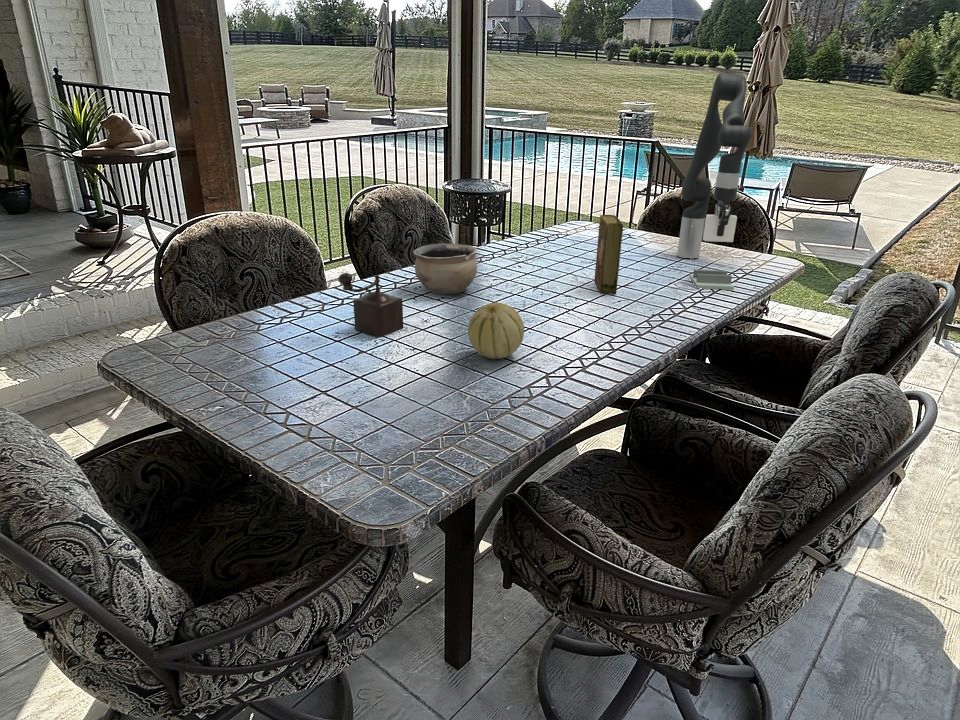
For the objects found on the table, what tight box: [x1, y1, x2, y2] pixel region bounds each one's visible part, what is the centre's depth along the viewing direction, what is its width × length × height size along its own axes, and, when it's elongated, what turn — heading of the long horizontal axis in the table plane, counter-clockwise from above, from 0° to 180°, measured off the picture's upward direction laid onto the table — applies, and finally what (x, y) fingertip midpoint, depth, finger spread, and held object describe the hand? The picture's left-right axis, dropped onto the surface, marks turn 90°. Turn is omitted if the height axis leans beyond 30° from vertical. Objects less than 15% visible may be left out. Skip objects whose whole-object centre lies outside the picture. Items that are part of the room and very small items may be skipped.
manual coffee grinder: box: [337, 272, 404, 338], centre depth 182 cm, size 16×11×18 cm
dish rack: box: [688, 269, 735, 291], centre depth 236 cm, size 14×13×4 cm
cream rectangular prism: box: [702, 213, 738, 243], centre depth 229 cm, size 3×10×9 cm, turn 84°
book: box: [593, 214, 624, 295], centre depth 225 cm, size 16×6×25 cm, turn 179°
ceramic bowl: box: [413, 242, 478, 295], centre depth 221 cm, size 22×22×15 cm
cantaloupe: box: [467, 301, 525, 360], centre depth 167 cm, size 15×15×15 cm
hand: (718, 234), depth 230 cm, fingers closed on cream rectangular prism, 3 cm apart
